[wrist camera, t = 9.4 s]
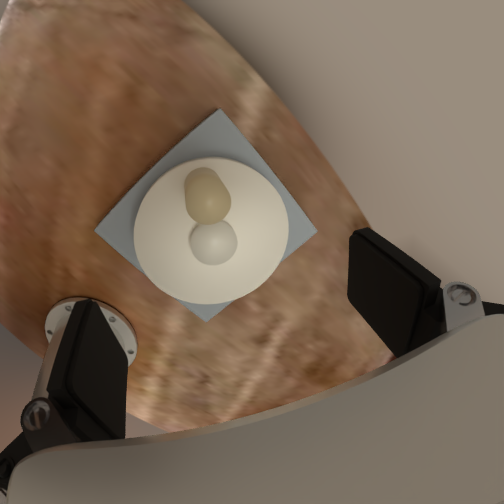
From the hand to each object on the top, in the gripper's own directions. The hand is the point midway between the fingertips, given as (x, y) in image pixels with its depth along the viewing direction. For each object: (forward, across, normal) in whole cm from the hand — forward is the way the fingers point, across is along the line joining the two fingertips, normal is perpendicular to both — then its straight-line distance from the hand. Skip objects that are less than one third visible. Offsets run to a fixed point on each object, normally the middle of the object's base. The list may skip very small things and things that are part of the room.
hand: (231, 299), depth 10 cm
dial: (+17, 0, +5) cm, 18 cm away
